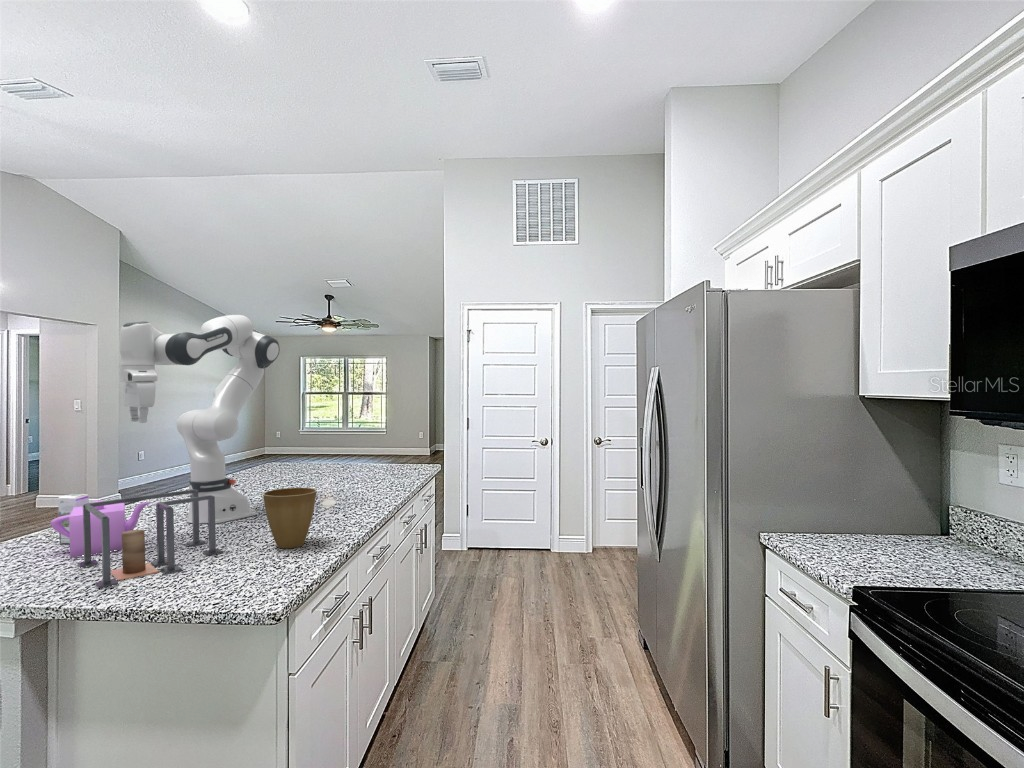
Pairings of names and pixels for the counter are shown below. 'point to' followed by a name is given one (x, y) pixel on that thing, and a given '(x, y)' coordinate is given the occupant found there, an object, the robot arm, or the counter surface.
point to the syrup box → (69, 510)
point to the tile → (121, 576)
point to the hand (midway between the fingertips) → (138, 422)
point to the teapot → (97, 527)
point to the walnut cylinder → (133, 551)
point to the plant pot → (290, 514)
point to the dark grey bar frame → (160, 532)
